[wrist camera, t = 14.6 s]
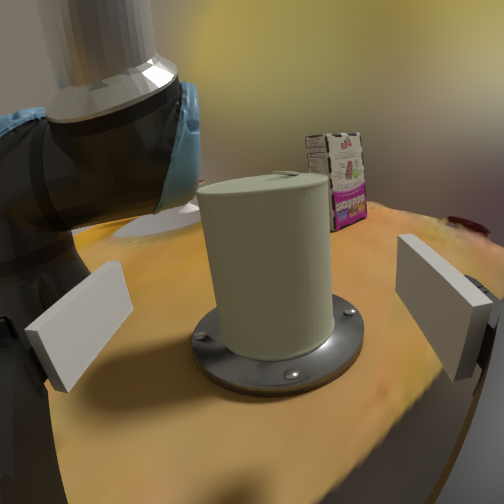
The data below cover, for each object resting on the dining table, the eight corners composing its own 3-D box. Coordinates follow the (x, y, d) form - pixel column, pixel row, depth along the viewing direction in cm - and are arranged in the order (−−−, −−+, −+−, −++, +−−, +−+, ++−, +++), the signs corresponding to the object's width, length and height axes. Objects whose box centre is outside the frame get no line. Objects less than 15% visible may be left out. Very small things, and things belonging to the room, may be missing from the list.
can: (354, 314, 25) (351, 166, 21) (288, 378, 19) (269, 184, 15) (270, 291, 31) (255, 168, 27) (197, 335, 25) (167, 187, 21)
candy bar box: (346, 215, 62) (340, 133, 56) (367, 217, 58) (362, 132, 53) (312, 228, 55) (303, 135, 50) (335, 232, 51) (327, 133, 46)
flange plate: (188, 408, 19) (183, 393, 18) (200, 309, 32) (197, 297, 31) (391, 371, 19) (394, 356, 19) (333, 289, 32) (333, 277, 32)
